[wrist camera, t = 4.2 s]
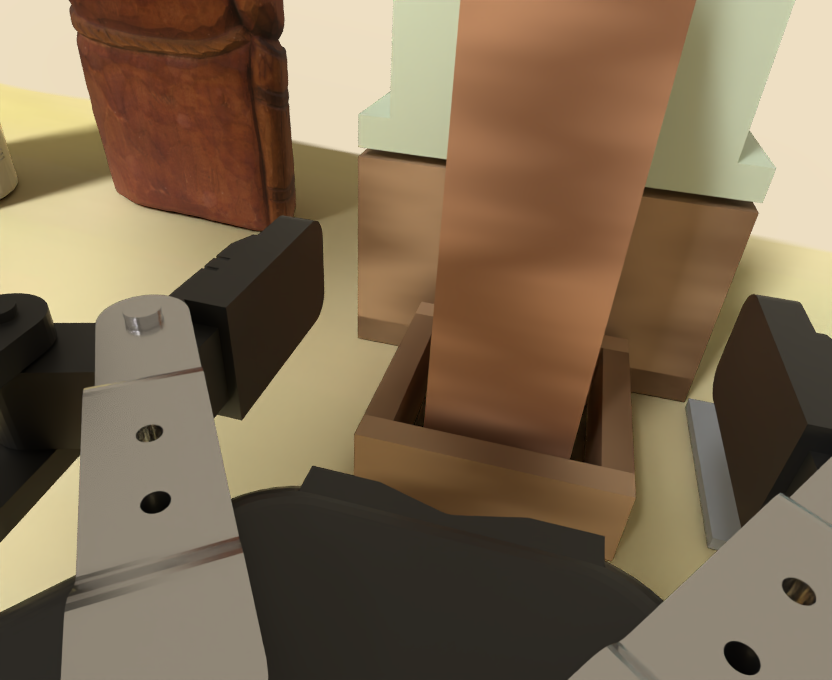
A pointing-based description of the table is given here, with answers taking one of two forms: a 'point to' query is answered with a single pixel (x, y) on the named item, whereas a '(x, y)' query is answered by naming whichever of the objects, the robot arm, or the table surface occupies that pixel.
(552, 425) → the wooden peg
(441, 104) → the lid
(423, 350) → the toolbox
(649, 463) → the table surface
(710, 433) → the mat
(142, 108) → the wooden figurine
